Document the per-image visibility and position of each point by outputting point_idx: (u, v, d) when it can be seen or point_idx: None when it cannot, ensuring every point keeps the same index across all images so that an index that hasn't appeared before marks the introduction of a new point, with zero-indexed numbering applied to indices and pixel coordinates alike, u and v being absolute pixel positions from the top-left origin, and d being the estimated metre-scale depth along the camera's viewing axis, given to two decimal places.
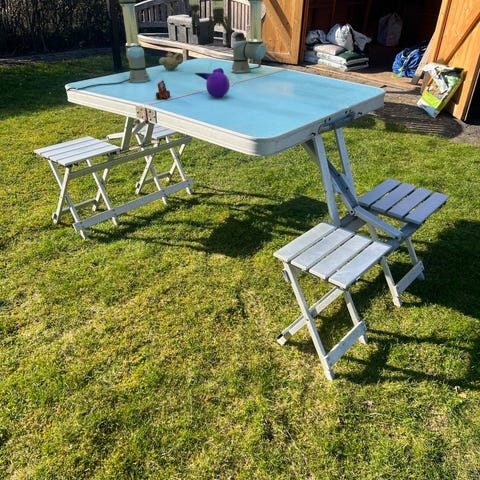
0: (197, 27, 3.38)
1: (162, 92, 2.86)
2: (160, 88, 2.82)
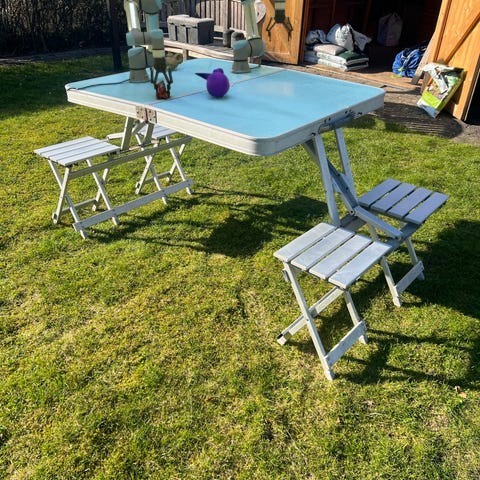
0: (169, 84, 2.85)
1: (162, 92, 2.86)
2: (160, 88, 2.82)
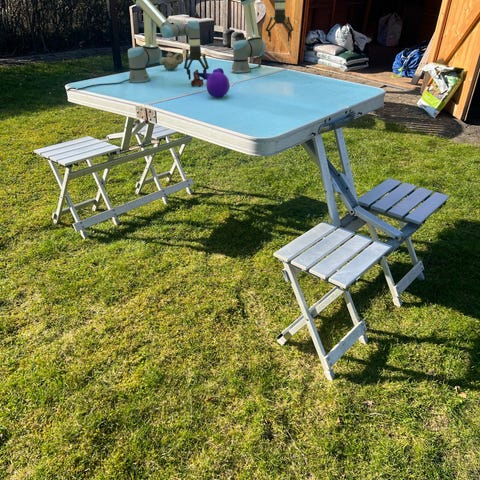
0: (205, 70, 3.15)
1: (197, 80, 3.17)
2: (195, 76, 3.13)
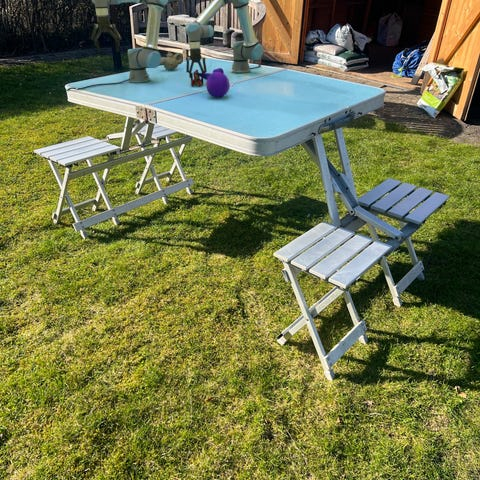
0: (118, 41, 2.90)
1: (197, 80, 3.17)
2: (195, 76, 3.13)
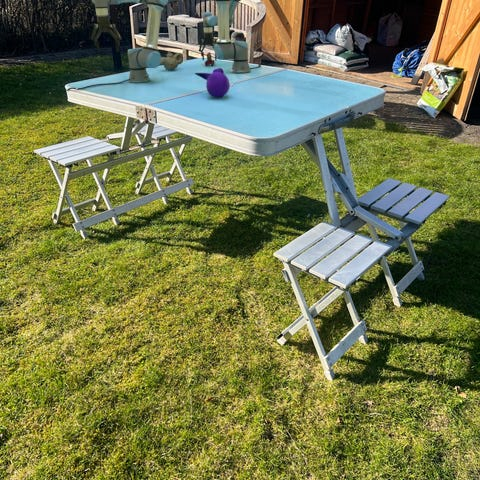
0: (118, 41, 2.90)
1: (209, 61, 3.89)
2: (208, 58, 3.85)
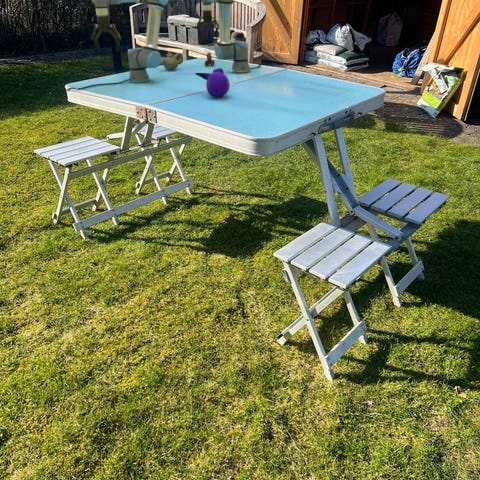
0: (118, 41, 2.90)
1: (209, 61, 3.89)
2: (208, 58, 3.85)
